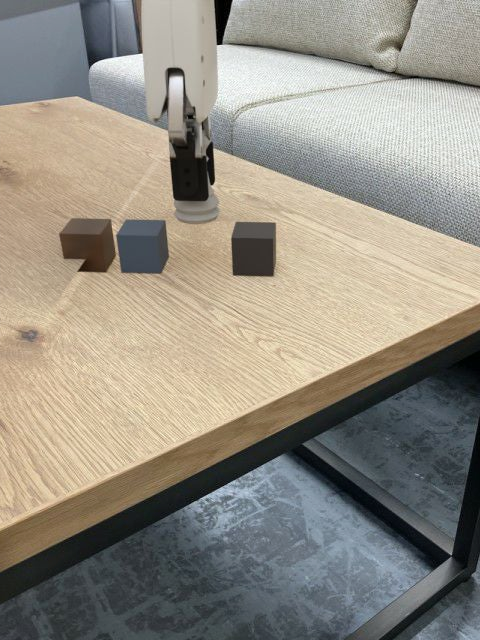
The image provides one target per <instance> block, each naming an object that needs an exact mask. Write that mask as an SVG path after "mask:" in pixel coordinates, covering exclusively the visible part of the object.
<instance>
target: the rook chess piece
mask: <svg viewBox="0 0 480 640" xmlns="http://www.w3.org/2000/svg"><path fill="white" fill-rule="evenodd" d="M187 131H191V132H192V128H187ZM192 134H193V135H194V133H192ZM210 142H211V141H209V140H208V138H207V137H206V132H205V130H202V145H203V156H206V149H207V147H208V145H209V144H210ZM208 159H209V158H208V157H207V161H208ZM207 173H208V171H207ZM208 189H209V197H208V199H207V201H176V200H175V199H174V200H173V206H174V208H175V210H174V212H173V215H174V217H175V218H176V219H177V220H178V221H179V222H180V223H183V224H187V225H206V224H209V223H212V222H214V221H216V220H217V219H218V217H219V215H220V214H221V210H220V208H219V207H218V206H219V204H220V200H219V197H218V195H216V194H215V190H214V188H212V186H211V185H210V181H209V176H208Z"/></svg>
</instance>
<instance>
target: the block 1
mask: <svg viewBox="0 0 480 640" xmlns="http://www.w3.org/2000/svg"><path fill="white" fill-rule="evenodd" d="M58 235H59V236H58V237H59V241H60V246H61V251H62V257H63V259H64V260H83V262H82V263H81V265H80V266H79V268H78V269H77V272H76V273H107V272H108V270H109V268H110V267H111V265H112V264H113V262H114V260H115V258H116V257H117V252H116V251H117V250H116V245H115V239H114V232H113V224H112V219H111V218H87V217H86V218H85V217H84V218H83V217H81V218H80V217H73V218H72V217H71V218H70V219H69V221H68V222H67V223H66V224H65V225H64V227H63V228H62V229H61V230H60V231H59V233H58Z"/></svg>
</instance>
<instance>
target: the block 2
mask: <svg viewBox="0 0 480 640" xmlns="http://www.w3.org/2000/svg"><path fill="white" fill-rule="evenodd" d="M115 237H116V245H117V251H118V258H119V266H120V272H121V273H122V274H153V275H154V274H155V275H156V274H157V275H161V274H163V271H164V269H165V266H166V265H167V262H168V260H169V258H170V252H169V242H168V232H167V222H166V220H165V219H134V218H133V219H131V218H130V219H128V218H126V219H125V220H124V222H123V223H122V225H121V226H120V228H119V230H118V231H117V232H116V234H115Z"/></svg>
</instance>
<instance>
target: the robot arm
mask: <svg viewBox="0 0 480 640" xmlns="http://www.w3.org/2000/svg"><path fill="white" fill-rule="evenodd" d="M140 3H141V9H140V11H141V12H140V13H141V14H140V15H141V17H140V19H141V42H142V43H141V45H142V62H143V76H144V90H145V107H146V116H147V118H148V119H149V121H150V122H151V123H153V124H156V123H158V122H159V121H160V120H161V119H162V117H164V115H165V114H166V117H167V135H168V148H169V149H168V151H169V152H168V153H169V166H170V177H171V188H172V189H171V190H172V197H173V199H174V200H176V201H207V199H208V197H209V189H208V176H209V181H210V185H211V187H212V186H214V185H215V183H216V170H215V168H216V167H215V154H214V153H215V152H214V151H215V150H214V142H213V141H212V135H213V133H212V122H211V111H212V110H213V108H214V106H215V104H216V102H217V99H218V90H219V71H218V69H219V68H218V66H219V65H218V42H217V41H218V40H217V28H216V27H217V26H216V25H217V24H216V12H215V11H216V8H215V0H141V1H140ZM187 128H192V132H191V131H187ZM202 130H205V132H206V137H207V138H208V140H209V141H210V144H209V145H208V147H207V149H206V156H203V145H202ZM192 133H194V135H193V134H192ZM207 157H208V158H209V159H208V161H207ZM207 171H208V173H207Z"/></svg>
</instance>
